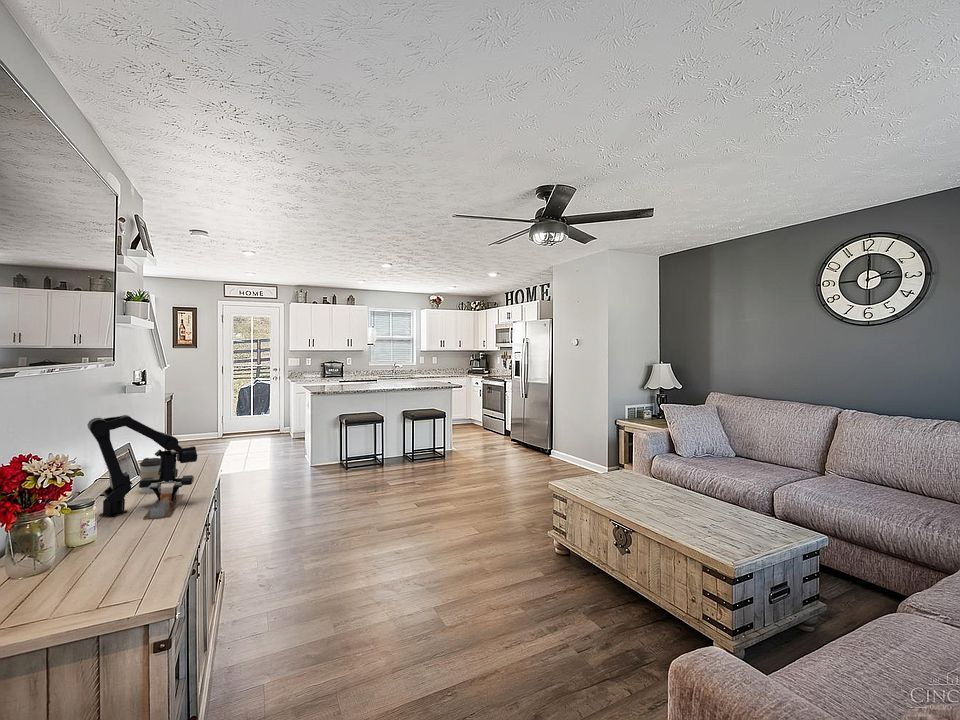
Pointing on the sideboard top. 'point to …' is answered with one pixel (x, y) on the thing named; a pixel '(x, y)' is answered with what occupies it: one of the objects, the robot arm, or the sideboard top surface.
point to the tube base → (164, 506)
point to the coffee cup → (149, 471)
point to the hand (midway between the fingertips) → (166, 501)
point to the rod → (166, 496)
